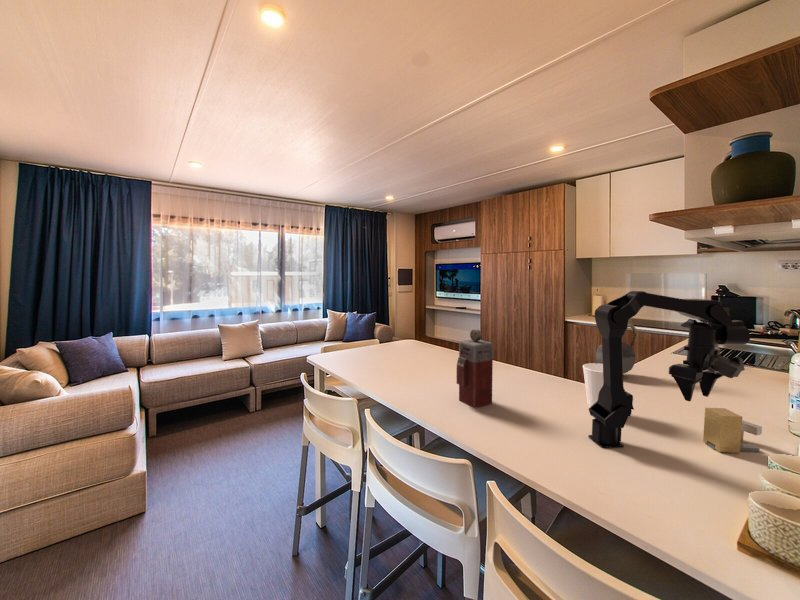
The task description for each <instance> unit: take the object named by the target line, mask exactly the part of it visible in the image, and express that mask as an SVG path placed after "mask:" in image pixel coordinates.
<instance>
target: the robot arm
mask: <svg viewBox="0 0 800 600" xmlns="http://www.w3.org/2000/svg"><path fill="white" fill-rule="evenodd" d="M644 307H648V308H649V307H650V308H655V309H659V310H666V311H672V312H676V313H678V314H680V315H683V316H685V317H688V319H687V320H686V321H684V322H683V323H681V324H680V326H681V327H682V328H688V340H687V345H685V346H683V350H685V351H686V359H684V360H682V363H674V364H672V365H670V366H669V367H668V375H670V376H671V377H672V378H673V379H674V381H675V382H676V385H677V386H678V389H679V390H680V392H681V394H682V396H683V398H684V400H685V401H687V402H691V401H692V398H693V395H694V390H695V387H696V385H697V384H698V383H699V387H700V391H701V393H702V397H703V396H704V397H706V398H708V397H709V396H710V394H711V391H712V390H713V387H714V386H715V383H716V382H717V380H718V379H720V378H722V377H727V378H729V379H733V378H738V377H739V375H740V374H741V372H744V371H745V366H746V365H745V364H744V360H743V358H742V357H739V356H733V357H731V358H729V357H727V356H726V357H724V356H723V355H721V354H720V353H721V351H720V349H719V348H716V346H717V345H722V346H725V345H726V346H746V345H747V344H748V343H749V342H750V340H751V333H750V330H749V329H748V328H747V327H746V326H745V321H743V320H738V319H737V320H736V319H733V320H732V319H731V317H730V316H729V314H728V313H727V312H726V310H725V309H724V305H723V303H722V302H721V301H719V300H714V299H705V298H704V299H703V298H680V297H679V298H678V297H674V296H673V297H672V296H669V295H668V296H666V295H661V294H654V293H648V292H646V291H642V290H641V291H640V290H630V291H628V292H627V293H625V294H624V295H622V296H619V297H618V298H615V299H613V300H611V301H609V302H607V303H606V304H601V305H598V307H597V308H596V309H595V310H594V319H595V325H596V328H597V329H598V331H599V333H600V335H601V344H602V354H603V386H602V388H601V390H600V391H599V396H598V401H597V402H596V403H594V404H593V405H592V406H591V407H590V408H589V407H588V412H589V414H590V416H591V417H593V419H592V420H591V421H592V424H591V434H588V436H587V437H588V438H589V440H592V441H593V442H594V443H595V444H597V445H598V446H599V447H600V448H605V449H606V448H609V449H610V448H623V447H624V444H623V443H622V429H623V428H625V425H626V423H627V422H628V418H629V417H631V415H632V410H633V411H635V408H634V406H633V405H634V403H633V402H634V396H633V394H631V393H630V392H628V391H626V390H625V387H624V377H623V375H624V374H623V355H622V342H623V337H624V335H625V333H626V332H627V330H628V328H629V327H628V324H629V320H630V319H632V318H634V316H636V315H637V314H638V312H640V310H641V309H642V308H644ZM627 327H628V328H627ZM716 344H717V345H716Z"/></svg>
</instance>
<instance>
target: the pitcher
mask: <svg viewBox="0 0 800 600" xmlns="http://www.w3.org/2000/svg"><path fill="white" fill-rule="evenodd" d="M628 328H630V329H632V332H633V335H632V339H631V343H630V344H628V343H626V342H624V341H622V355H623V378H625V375H624V374H627V373H629V372H630V371H631V370H632V369H633V368H634V366H635V363H636V354H635V351H634V350H635V349H634V348H633V345H634V344H635V341H636V339H637V333H638V332H637V329H636V327H635V325H634V324H632V323H628V327H627V329H628ZM596 349H597V350H596V352H595V361H596V363H598V364H603V354H602V343H600V345H598V346H597V348H596Z"/></svg>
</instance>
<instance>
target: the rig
mask: <svg viewBox="0 0 800 600" xmlns="http://www.w3.org/2000/svg"><path fill="white" fill-rule="evenodd" d="M762 430H763V426H761V425H759V424H755V423H753V422H749V421H747V420H743V419H742V432H741V446H740V452H749V453H750V452H752V453H760V447H758V446H757V445H756V446H755V445H754V444H752V443H742V442H744V433H749V434H751V435H754V436H760V435H762V433H763V431H762ZM707 446H708V447H709V448H711V449H713V451H717V450H716V449H715V445H714V444H712V443H710V442H708V444H707Z"/></svg>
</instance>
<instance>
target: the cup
mask: <svg viewBox="0 0 800 600" xmlns="http://www.w3.org/2000/svg"><path fill="white" fill-rule="evenodd" d="M582 370H583V377H584V379H583V380H584V387H585V392H586V393H585V394H586V402H587V406H588V409H589V408H590V407H591V406H592V405H593V404H594V403H596V402H597V401H598V396H599V391H600V390H601V388H602V386H603V364H598V363H597V362H596V363H595V362H592V363H585V364H583V365H582Z"/></svg>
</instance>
